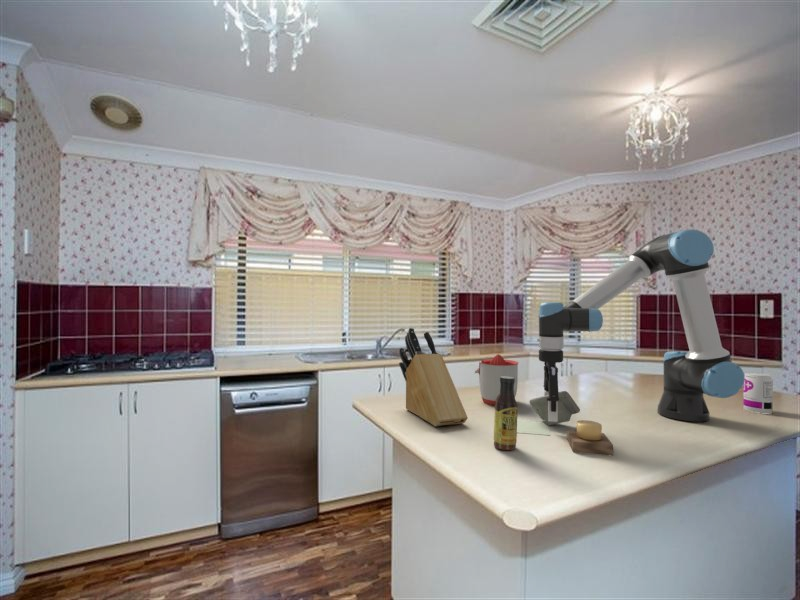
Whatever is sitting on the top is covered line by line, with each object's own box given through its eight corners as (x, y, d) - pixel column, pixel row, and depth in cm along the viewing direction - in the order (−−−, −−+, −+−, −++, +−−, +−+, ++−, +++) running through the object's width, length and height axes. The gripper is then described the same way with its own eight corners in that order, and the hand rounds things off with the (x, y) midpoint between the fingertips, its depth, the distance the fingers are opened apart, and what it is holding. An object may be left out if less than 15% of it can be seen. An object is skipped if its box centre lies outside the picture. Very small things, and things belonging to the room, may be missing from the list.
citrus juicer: (477, 397, 173) (477, 350, 173) (519, 400, 167) (519, 352, 167) (471, 405, 158) (471, 355, 158) (516, 410, 152) (517, 357, 152)
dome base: (603, 443, 117) (603, 433, 117) (613, 456, 107) (613, 444, 107) (567, 440, 120) (567, 430, 120) (573, 452, 110) (573, 441, 110)
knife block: (421, 401, 164) (421, 326, 164) (468, 426, 132) (469, 332, 132) (395, 404, 160) (396, 326, 160) (438, 430, 127) (439, 333, 127)
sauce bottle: (502, 453, 109) (503, 380, 109) (489, 445, 115) (489, 376, 115) (522, 449, 112) (522, 378, 112) (507, 442, 117) (508, 374, 117)
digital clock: (583, 410, 130) (570, 385, 130) (574, 423, 125) (561, 397, 125) (546, 415, 140) (534, 391, 141) (537, 426, 135) (524, 402, 135)
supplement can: (748, 416, 147) (749, 375, 147) (739, 410, 155) (739, 371, 155) (777, 418, 144) (777, 377, 144) (766, 412, 152) (766, 373, 152)
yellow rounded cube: (598, 442, 116) (598, 421, 116) (604, 450, 110) (604, 428, 110) (574, 440, 117) (574, 419, 117) (578, 448, 111) (579, 426, 111)
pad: (544, 420, 140) (544, 419, 140) (550, 436, 123) (550, 435, 123) (505, 417, 143) (505, 416, 143) (506, 432, 126) (506, 431, 126)
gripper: (535, 344, 144) (535, 405, 144) (542, 353, 121) (542, 426, 121) (558, 345, 142) (557, 406, 142) (569, 354, 119) (568, 428, 119)
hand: (550, 415), depth 132 cm, fingers open, 11 cm apart
